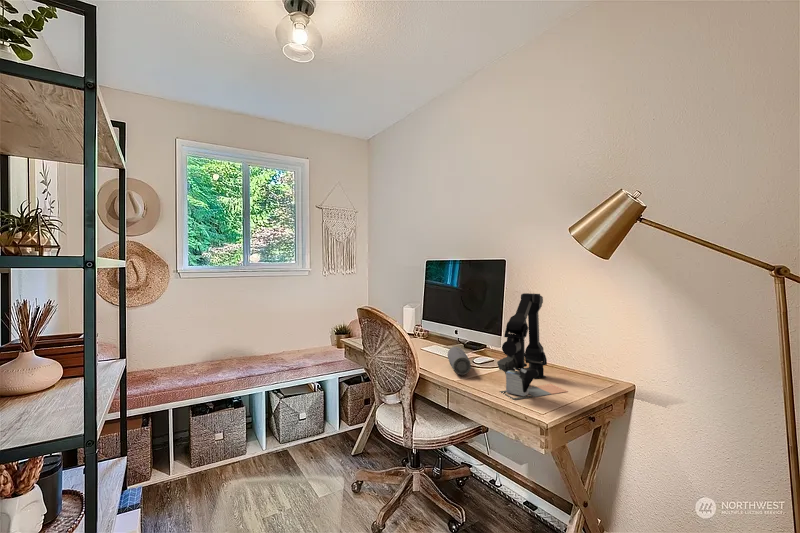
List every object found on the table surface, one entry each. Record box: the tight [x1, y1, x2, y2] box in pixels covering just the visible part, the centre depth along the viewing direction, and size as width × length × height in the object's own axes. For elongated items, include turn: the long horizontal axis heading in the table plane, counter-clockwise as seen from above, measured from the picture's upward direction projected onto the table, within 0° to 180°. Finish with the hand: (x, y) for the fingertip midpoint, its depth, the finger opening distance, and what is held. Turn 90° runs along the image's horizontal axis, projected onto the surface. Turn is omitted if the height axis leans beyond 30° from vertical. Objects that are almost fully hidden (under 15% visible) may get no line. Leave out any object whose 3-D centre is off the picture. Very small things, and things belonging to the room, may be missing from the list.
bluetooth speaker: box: [447, 346, 472, 376], centre depth 190 cm, size 23×9×10 cm, turn 0°
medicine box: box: [505, 370, 529, 397], centre depth 156 cm, size 8×4×9 cm, turn 48°
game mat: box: [499, 383, 569, 401], centre depth 159 cm, size 10×27×1 cm, turn 110°
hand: (517, 388), depth 156 cm, fingers closed on medicine box, 9 cm apart
